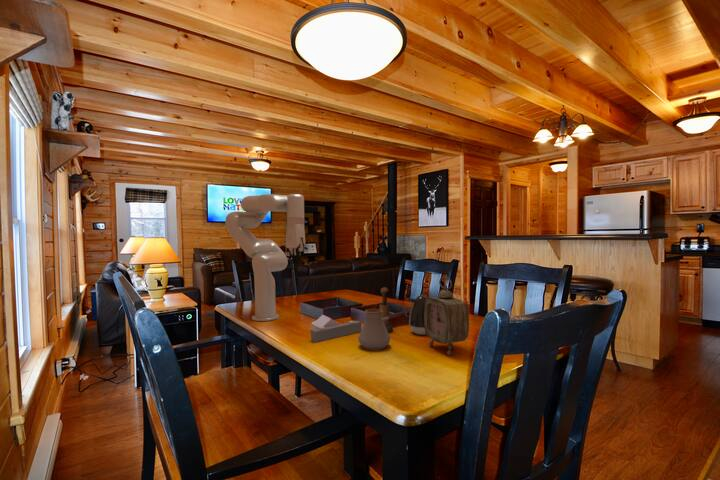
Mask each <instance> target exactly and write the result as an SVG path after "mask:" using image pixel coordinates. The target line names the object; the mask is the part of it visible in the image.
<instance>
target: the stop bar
mask: <svg viewBox="0 0 720 480" xmlns="http://www.w3.org/2000/svg"><path fill="white" fill-rule="evenodd" d="M361 330H362V321H361V320H360V321H359V320H349V321H348V322H344V323H338V325H334V326H329V327H320V328H319V329H314V330H312V329H311V330H310V341H311V342H313V343H314V344H315V343H316V344H317V343H320V342H324V341H328V340H332V339H337V338H340V337H341V338H342V337H344V336H345V337H346V336H348V335H353V334H357V333H360V332H361Z"/></svg>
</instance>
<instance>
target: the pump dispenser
mask: <svg viewBox="0 0 720 480" xmlns="http://www.w3.org/2000/svg"><path fill="white" fill-rule="evenodd" d="M426 298H428V297H427V296H425V295H423V294H421V295H418V296H416V298H412V297H410V298H409V301H410V302H412V306H411V308H410V311H409V312H410V313H409V316H408V319H409V320H408V324H409V326H410V329H411V331H412V332H413V333H414V334H416V335H420V336H425V335H426V333H425V327H424V302H425V299H426ZM426 336H427V335H426Z"/></svg>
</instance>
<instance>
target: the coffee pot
mask: <svg viewBox="0 0 720 480" xmlns="http://www.w3.org/2000/svg"><path fill="white" fill-rule="evenodd" d="M364 312H365V313H366V316H365V317H366V318H365V319H364V322H363V325H362V326H361V332H359V334H358V338H357V339H358V340H357V341H358V343H359V344H360V345H361V346H362V348H364V349H366V350H369V351H378V350H383V349H385V348H386V346H387V345H388V344H390V342H391V336H390V333H388V331H387V329H386V327H385V324H384V322H383V321H384V320H387V319H389V320H390V319H394V318H399V317H401V316H403V315H405V316H406V317H407V318H409V316H408V315H407V313H409V314H410V312H411V311H408V310H404V311H403V310H402V311H400V312H396V313H393V314H391V315H389V317H385V318H382V317H381V314H382V312H383V310H381V309H380V308H368V309H365V310H364Z"/></svg>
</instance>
